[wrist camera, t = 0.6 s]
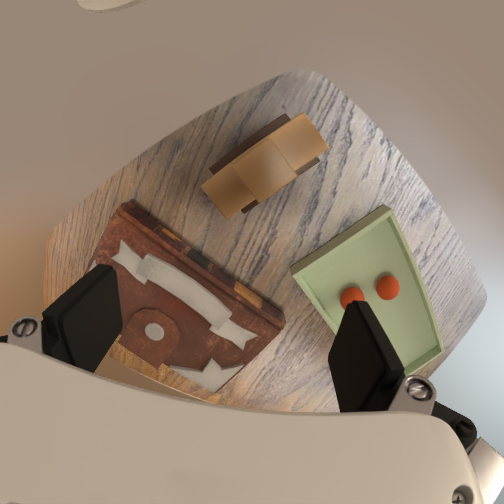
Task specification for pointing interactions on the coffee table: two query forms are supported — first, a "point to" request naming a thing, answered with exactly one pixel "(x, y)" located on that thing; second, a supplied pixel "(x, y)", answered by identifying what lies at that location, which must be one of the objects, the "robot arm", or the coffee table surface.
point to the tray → (366, 278)
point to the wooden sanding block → (265, 166)
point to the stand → (252, 142)
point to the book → (182, 303)
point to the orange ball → (387, 287)
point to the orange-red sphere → (351, 296)
